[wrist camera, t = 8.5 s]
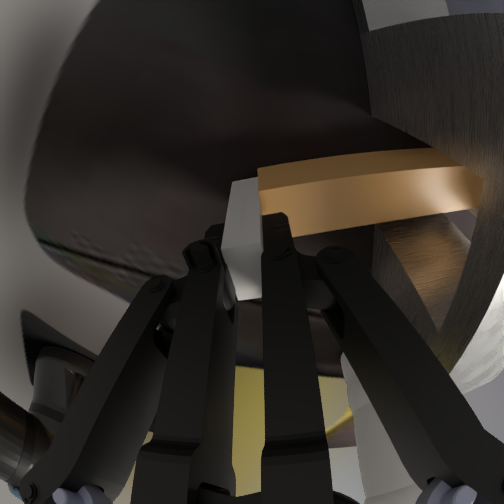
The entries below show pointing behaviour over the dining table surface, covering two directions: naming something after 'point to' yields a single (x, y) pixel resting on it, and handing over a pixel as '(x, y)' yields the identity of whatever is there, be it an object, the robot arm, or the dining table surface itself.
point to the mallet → (367, 189)
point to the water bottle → (376, 450)
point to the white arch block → (459, 149)
